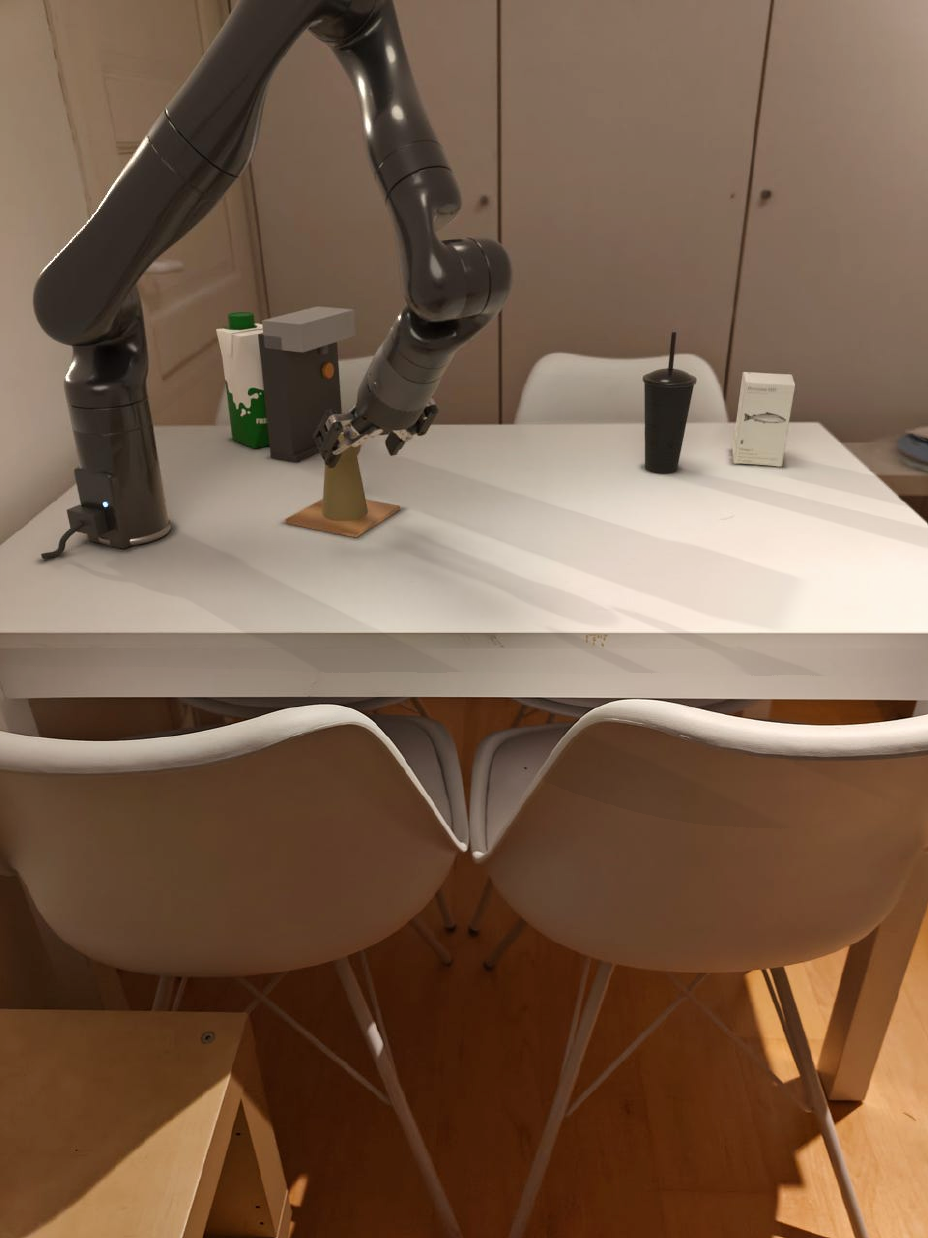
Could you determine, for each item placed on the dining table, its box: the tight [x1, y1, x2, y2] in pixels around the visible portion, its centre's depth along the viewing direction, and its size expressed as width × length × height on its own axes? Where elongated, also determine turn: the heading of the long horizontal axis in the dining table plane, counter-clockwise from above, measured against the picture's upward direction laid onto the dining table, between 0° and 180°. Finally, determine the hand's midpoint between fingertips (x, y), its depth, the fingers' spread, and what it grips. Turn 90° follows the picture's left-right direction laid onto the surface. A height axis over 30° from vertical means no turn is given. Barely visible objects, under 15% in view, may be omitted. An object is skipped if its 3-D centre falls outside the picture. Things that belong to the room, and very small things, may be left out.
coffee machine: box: [258, 306, 357, 463], centre depth 145 cm, size 14×8×21 cm, turn 153°
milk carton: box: [215, 311, 270, 449], centre depth 150 cm, size 9×9×20 cm
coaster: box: [284, 498, 401, 538], centre depth 123 cm, size 11×11×1 cm
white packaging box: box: [731, 371, 796, 467], centre depth 141 cm, size 7×7×13 cm
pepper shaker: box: [322, 431, 368, 521], centre depth 121 cm, size 6×6×11 cm
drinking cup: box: [642, 331, 698, 474], centre depth 136 cm, size 8×8×20 cm
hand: (359, 455), depth 115 cm, fingers open, 8 cm apart
